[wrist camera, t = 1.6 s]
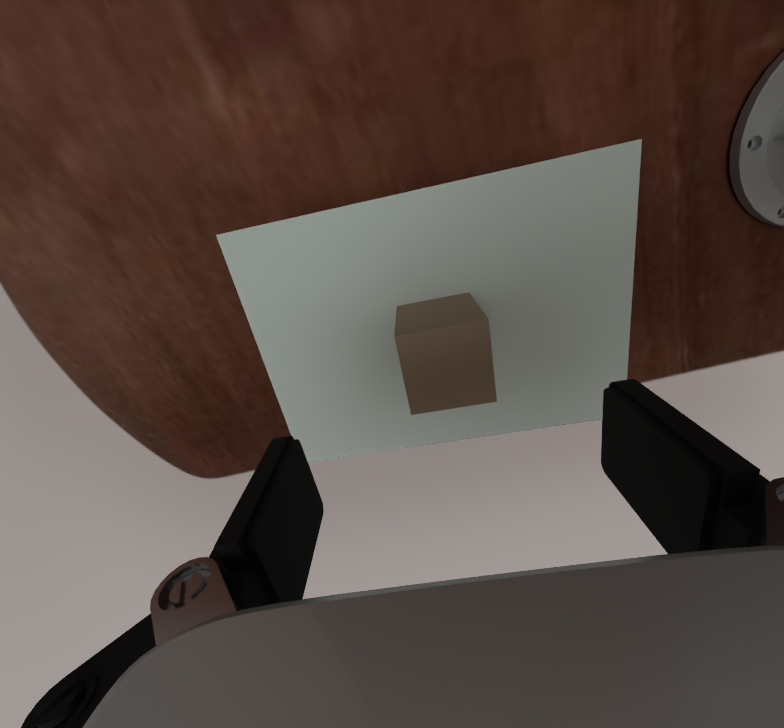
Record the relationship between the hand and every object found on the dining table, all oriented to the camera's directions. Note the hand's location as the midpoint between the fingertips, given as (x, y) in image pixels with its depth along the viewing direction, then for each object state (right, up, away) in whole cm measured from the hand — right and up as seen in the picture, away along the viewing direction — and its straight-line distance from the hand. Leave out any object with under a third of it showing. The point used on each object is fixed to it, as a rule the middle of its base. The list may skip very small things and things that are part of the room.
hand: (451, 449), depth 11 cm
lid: (+1, +5, +10) cm, 11 cm away
